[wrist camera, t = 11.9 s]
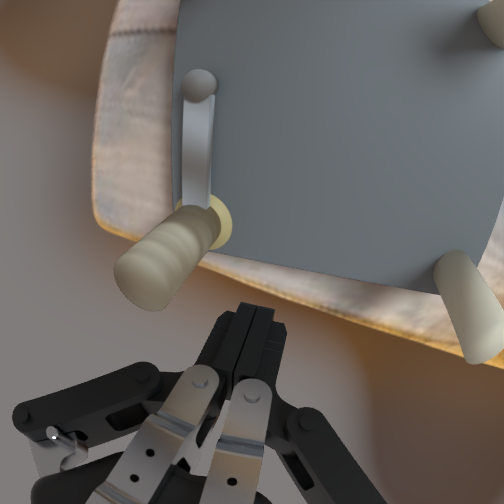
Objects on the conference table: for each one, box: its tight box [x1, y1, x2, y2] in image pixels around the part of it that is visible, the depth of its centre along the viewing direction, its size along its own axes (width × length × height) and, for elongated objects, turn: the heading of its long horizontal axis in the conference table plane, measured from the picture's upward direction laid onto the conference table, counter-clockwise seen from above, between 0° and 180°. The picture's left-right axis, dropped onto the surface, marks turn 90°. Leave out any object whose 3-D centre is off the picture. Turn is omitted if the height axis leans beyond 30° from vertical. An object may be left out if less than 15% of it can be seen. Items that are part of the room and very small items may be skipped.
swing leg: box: [114, 69, 221, 311], centre depth 14 cm, size 13×4×8 cm, turn 175°
